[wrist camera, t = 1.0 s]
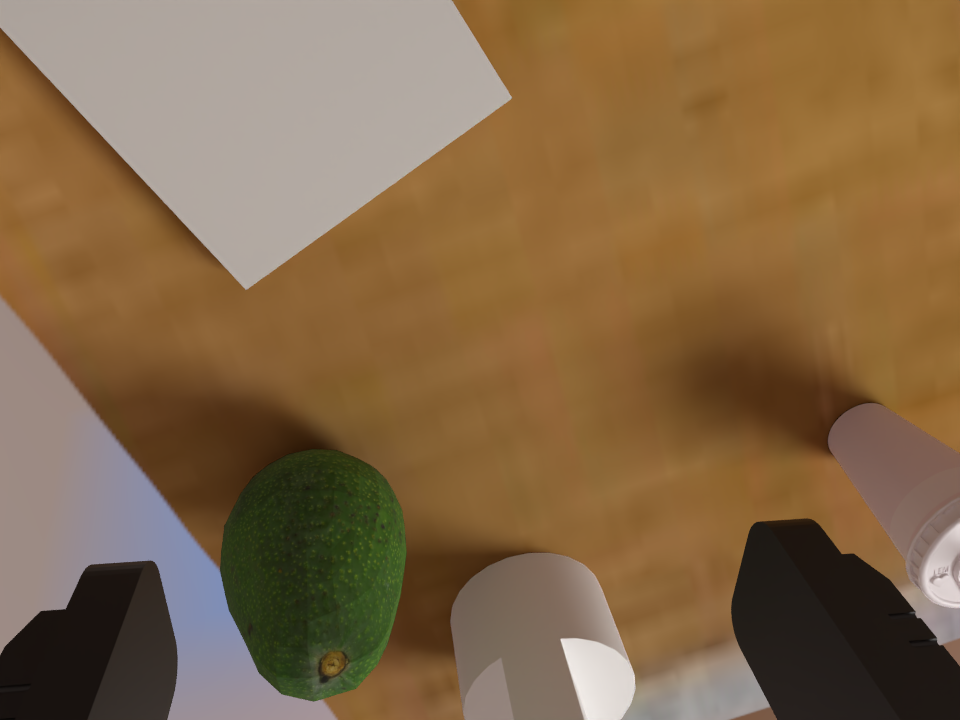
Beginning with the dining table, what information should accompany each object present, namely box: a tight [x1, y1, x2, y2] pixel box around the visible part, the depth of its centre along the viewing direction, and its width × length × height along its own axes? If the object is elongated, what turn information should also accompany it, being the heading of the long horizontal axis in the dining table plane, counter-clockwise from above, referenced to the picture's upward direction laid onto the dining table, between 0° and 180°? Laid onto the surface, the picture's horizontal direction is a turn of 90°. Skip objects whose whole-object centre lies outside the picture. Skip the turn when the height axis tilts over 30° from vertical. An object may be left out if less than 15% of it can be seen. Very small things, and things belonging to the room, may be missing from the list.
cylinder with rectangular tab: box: [450, 553, 635, 720], centre depth 39 cm, size 9×9×12 cm
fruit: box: [220, 449, 407, 701], centre depth 32 cm, size 8×8×12 cm
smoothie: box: [828, 403, 960, 608], centre depth 35 cm, size 6×6×14 cm
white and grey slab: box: [0, 0, 512, 290], centre depth 26 cm, size 13×15×4 cm
